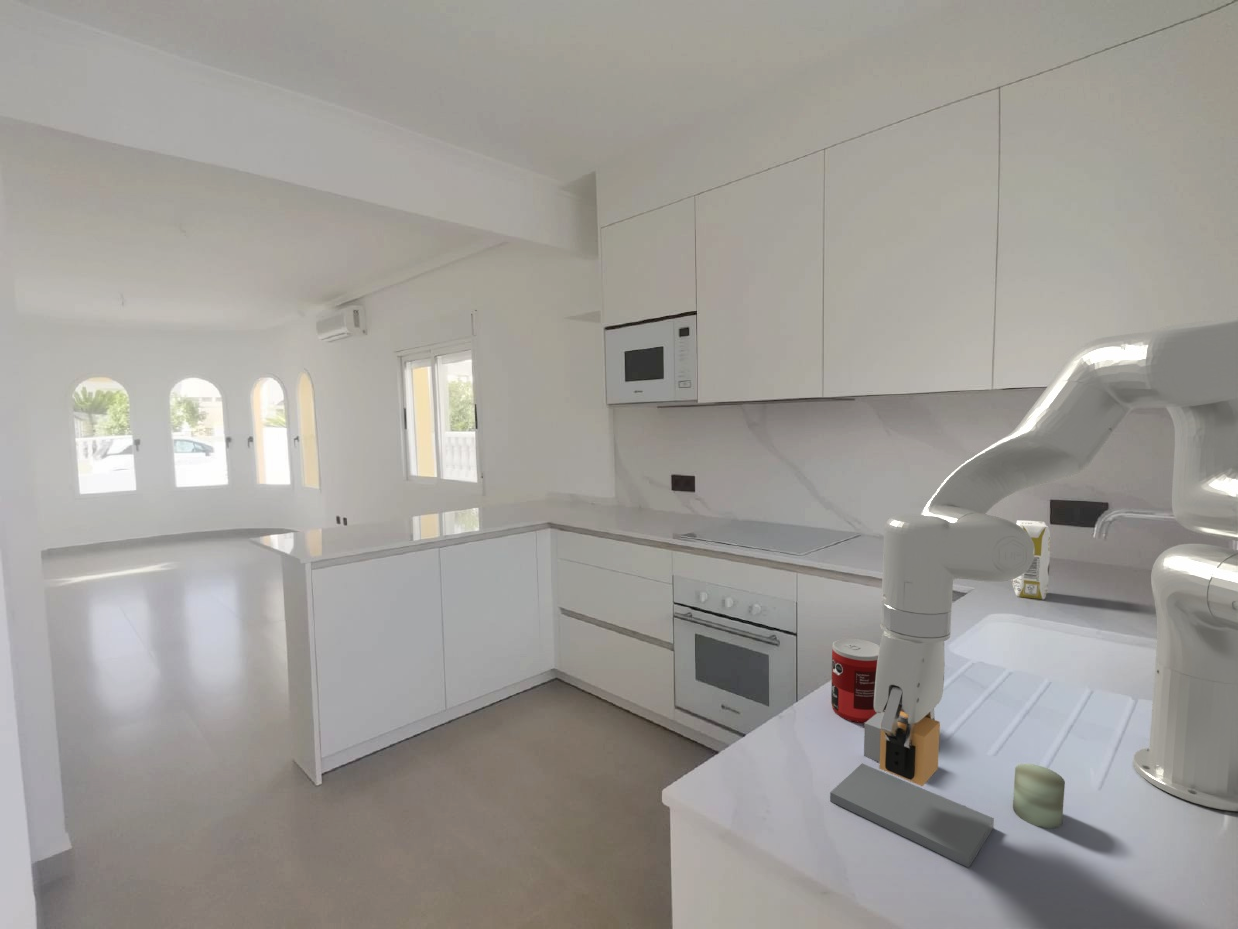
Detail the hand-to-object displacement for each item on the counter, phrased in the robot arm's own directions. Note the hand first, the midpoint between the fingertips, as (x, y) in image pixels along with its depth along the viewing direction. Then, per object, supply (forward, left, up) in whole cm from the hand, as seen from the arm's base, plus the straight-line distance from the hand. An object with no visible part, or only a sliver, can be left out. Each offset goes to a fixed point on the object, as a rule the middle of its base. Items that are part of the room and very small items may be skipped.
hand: (909, 762), depth 75 cm
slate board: (0, 0, -7) cm, 7 cm away
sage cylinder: (-11, +11, -7) cm, 17 cm away
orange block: (0, 0, -1) cm, 1 cm away
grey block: (-11, -7, -7) cm, 15 cm away
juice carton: (-111, -12, -7) cm, 112 cm away
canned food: (-20, -16, -7) cm, 27 cm away
